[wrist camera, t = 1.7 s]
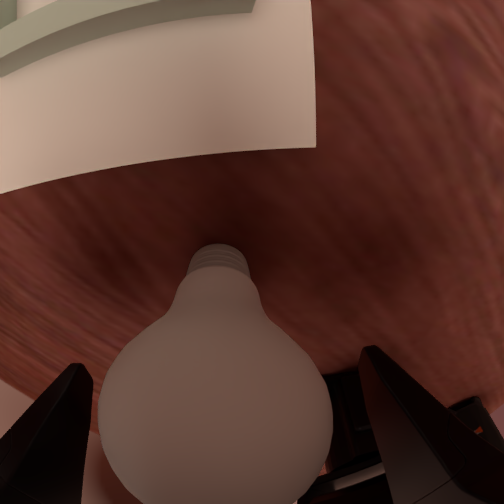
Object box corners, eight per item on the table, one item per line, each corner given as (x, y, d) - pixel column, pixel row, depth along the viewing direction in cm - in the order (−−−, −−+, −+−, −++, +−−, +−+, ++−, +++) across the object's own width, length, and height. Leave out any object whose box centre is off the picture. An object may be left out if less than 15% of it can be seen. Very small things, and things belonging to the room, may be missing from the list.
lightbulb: (174, 173, 12) (61, 470, 3) (311, 224, 14) (415, 486, 4) (139, 288, 15) (84, 515, 5) (254, 322, 16) (275, 537, 7)
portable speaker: (447, 400, 25) (503, 551, 8) (494, 388, 26) (548, 511, 10) (406, 439, 29) (444, 570, 13) (455, 426, 31) (495, 538, 14)
